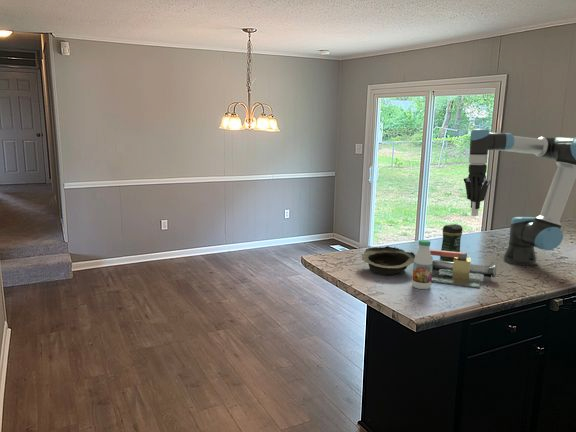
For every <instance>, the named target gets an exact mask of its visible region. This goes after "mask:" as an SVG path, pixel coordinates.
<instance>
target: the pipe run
mask: <svg viewBox="0 0 576 432" xmlns="http://www.w3.org/2000/svg"><path fill="white" fill-rule="evenodd" d="M432 260H433V264H432V279H431V283H436V284H442V285H451V286H458V287H466V288H473V289H481V279H480V277H481V275H483V277H482V280H483V281H482V282H484V283H489V284H491V282H492V278H493V279H495V278H496V274H497V265H496V264H493V265H492V266H489V265H482V264H481V265H480V264H471V260H472V259H471V257H467V259H466V260H462V259H458V258H456V257H454V262H448V261H443V260H438V259H432Z"/></svg>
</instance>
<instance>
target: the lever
mask: <svg viewBox="0 0 576 432" xmlns="http://www.w3.org/2000/svg"><path fill="white" fill-rule="evenodd" d="M429 249H430V248H429ZM430 253H431V256H437V257H438V256H439V257H440V256H446V257H456V258H458V259H462V260H466V259H467V258H468V257H467V256H468V253H467V252H463V251H462V252H461V251H460V252H452V251H442V250H440V249H432V248H431V249H430Z"/></svg>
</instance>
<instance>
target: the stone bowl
mask: <svg viewBox="0 0 576 432" xmlns="http://www.w3.org/2000/svg"><path fill="white" fill-rule="evenodd" d="M415 255H416V254H415V253H414V252H412V251H406V250H404V249H402V248H399V247H395V246H394V247H392V246H389V245H386V246H378V247H377V246H374V247H368V248H366V249H365V250H364V252H363V253H361V260H362V261H364V262H365V264H367V265H368V267H369V270H371V272H373V273H374V274H378V275H384V276H389V275H395V274H398V273H401V272H403V271H406V269H407V268H408V267H409V266H410V265H412V264H414V258H415Z"/></svg>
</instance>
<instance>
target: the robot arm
mask: <svg viewBox="0 0 576 432" xmlns="http://www.w3.org/2000/svg"><path fill="white" fill-rule="evenodd" d="M469 136H470V137H469V138H470V139H469V155H468V156H469V157H468V163H469V165H468V174H467V175H468V176H467V177H465V178H463V181H464V184H465V191H466V199H467V200H469V201H470V209H471V214H470V215H471V217H478V216H479V210H480V208H481V207H480V206H481V202H483V201H485V198H486V196H487V192H488V188H489V185H490V184H491V182H492V181H491V180H488V179H487V175H486V174H487V170H488V166H487V163H488V154H489V151H503V152H513V153H519V154H528V155H529V154H530V155H535V156H536V157H537V158H538V157H539V158H546V159H550V160H554V161H555V164H556V166H557V167H556V168H557V169H556V171H555V173H554V176H553V178H552V180H551V181H552V182H551V183H550V186H549V189H548V191H547V193H546V194H547V195H546V197H545V199H544V203H543V204H542V208H541V211H540V214H539V215H538V216H534V217H533V216H515V217H513V218H511V221H510V228H509V238H508V246H507V247H506V250H505V251H504V254H503V257H502V258H503V259H502V260H503V261H504V262H506V263H508V264H511V265H512V264H513V265H519V266H535V265H536V264H537V256H536V251H535V248H537V249H539V250H544V251H552V250H554V249H557V248H558V247H559V246H560V245H561V244H562V241H563V239H564V234H563V231H562V229H561V228H562V226H563V225H562V223H561V218H562V215H563V213H564V210H565V207H566V204H567V203H568V199H569V197H570V193H571V192H572V190H573V187H574V186H573V185H574V183H575V181H576V136H548V137H547V136H540V137H538V138H536V137H527V136H519V135H513V134H512V133H511V132H490V130H489V129H488V128H473V129H472V130H471V132H470V135H469Z"/></svg>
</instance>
